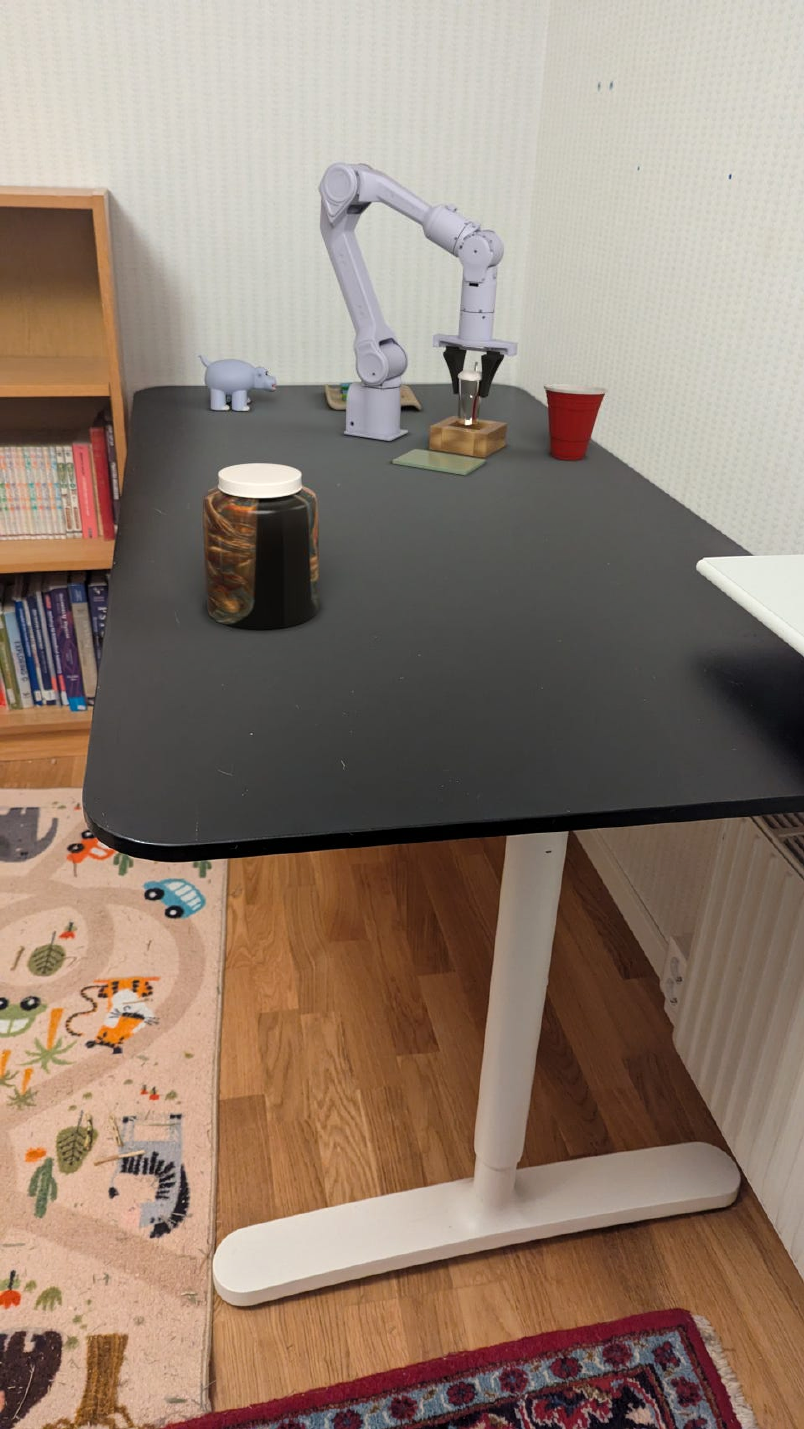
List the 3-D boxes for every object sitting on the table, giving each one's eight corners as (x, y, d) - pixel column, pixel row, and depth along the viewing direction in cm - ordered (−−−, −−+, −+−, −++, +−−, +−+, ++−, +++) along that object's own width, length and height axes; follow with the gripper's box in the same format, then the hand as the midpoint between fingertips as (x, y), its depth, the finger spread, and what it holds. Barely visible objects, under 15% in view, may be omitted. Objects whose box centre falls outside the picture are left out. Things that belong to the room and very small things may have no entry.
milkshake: (484, 422, 179) (489, 363, 174) (476, 428, 174) (481, 368, 170) (460, 419, 180) (464, 360, 175) (451, 425, 176) (455, 365, 171)
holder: (428, 449, 177) (430, 426, 175) (451, 437, 185) (452, 415, 183) (484, 458, 173) (486, 434, 171) (505, 445, 182) (507, 423, 180)
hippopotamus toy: (277, 412, 198) (276, 361, 193) (198, 410, 196) (196, 359, 191) (277, 401, 207) (276, 352, 203) (202, 399, 205) (200, 350, 201)
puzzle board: (323, 393, 216) (323, 376, 215) (411, 394, 219) (412, 378, 217) (327, 410, 201) (327, 392, 200) (422, 412, 203) (423, 394, 202)
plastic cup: (596, 450, 181) (605, 381, 176) (601, 466, 172) (611, 393, 166) (535, 446, 182) (542, 377, 176) (537, 461, 173) (544, 389, 167)
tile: (392, 463, 167) (392, 460, 167) (414, 452, 175) (414, 448, 174) (465, 475, 163) (465, 471, 163) (485, 463, 170) (485, 459, 170)
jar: (271, 640, 104) (269, 496, 96) (185, 613, 109) (177, 475, 102) (338, 605, 113) (340, 471, 105) (255, 582, 118) (252, 452, 111)
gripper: (526, 313, 169) (518, 396, 176) (446, 304, 174) (441, 386, 181) (512, 317, 163) (504, 403, 170) (429, 308, 168) (425, 392, 175)
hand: (470, 395), depth 175 cm, fingers closed on milkshake, 4 cm apart
